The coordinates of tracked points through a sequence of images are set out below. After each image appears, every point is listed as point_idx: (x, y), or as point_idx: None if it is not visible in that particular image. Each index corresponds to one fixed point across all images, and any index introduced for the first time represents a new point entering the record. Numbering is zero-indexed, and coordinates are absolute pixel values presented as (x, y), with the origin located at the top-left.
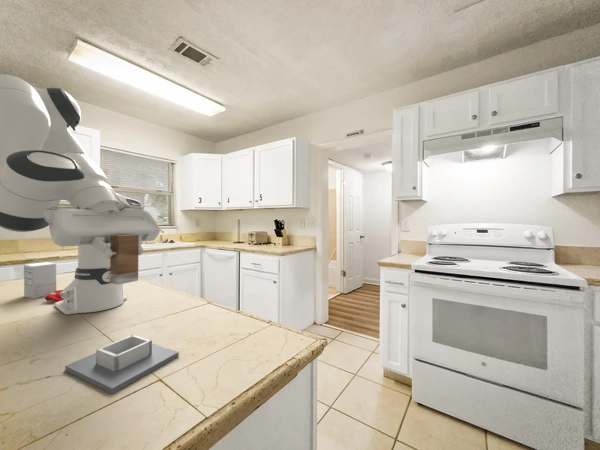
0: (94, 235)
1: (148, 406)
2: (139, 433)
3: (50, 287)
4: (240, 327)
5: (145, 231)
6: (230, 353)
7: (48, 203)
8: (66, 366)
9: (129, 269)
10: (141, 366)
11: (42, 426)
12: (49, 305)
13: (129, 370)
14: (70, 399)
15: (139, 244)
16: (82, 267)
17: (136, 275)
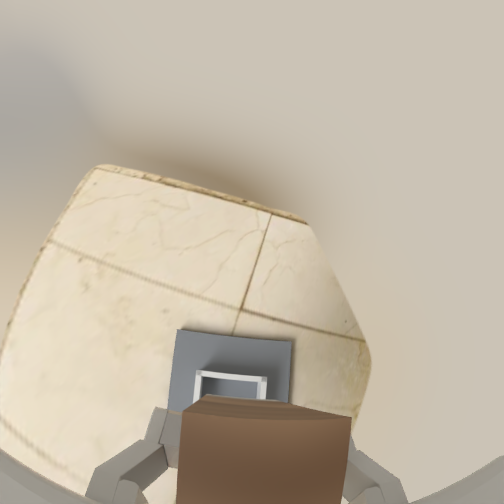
0: (422, 498)
1: (286, 279)
2: (314, 257)
3: None
4: (61, 286)
5: (33, 479)
6: (147, 255)
7: None
8: None
9: (243, 400)
10: (236, 352)
11: (351, 357)
12: None
13: (252, 360)
14: (317, 381)
15: (148, 443)
16: None
17: (212, 395)
